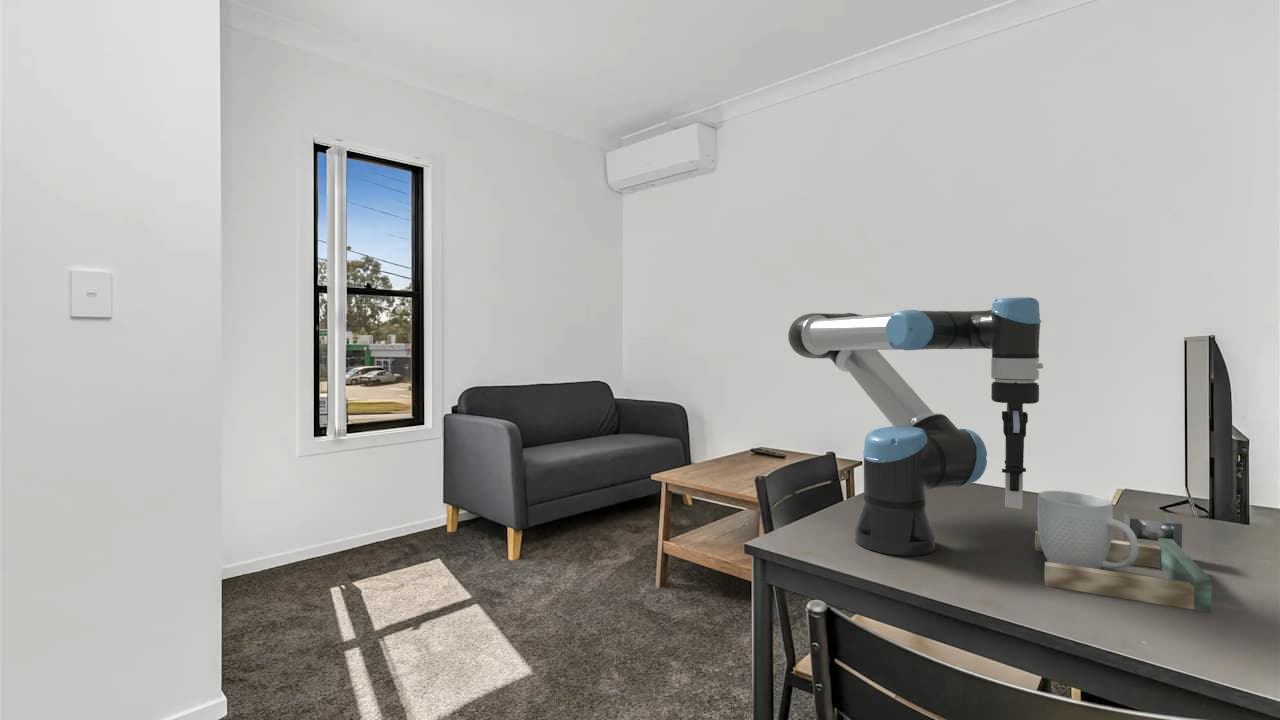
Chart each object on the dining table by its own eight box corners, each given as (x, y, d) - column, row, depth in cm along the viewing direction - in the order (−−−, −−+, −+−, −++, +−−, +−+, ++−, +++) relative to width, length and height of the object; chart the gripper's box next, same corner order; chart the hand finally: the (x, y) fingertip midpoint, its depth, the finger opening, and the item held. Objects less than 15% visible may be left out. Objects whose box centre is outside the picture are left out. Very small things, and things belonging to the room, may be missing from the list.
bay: (1045, 585, 102) (1046, 556, 102) (1034, 547, 121) (1035, 522, 120) (1210, 612, 92) (1211, 580, 92) (1171, 566, 111) (1172, 539, 110)
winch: (1128, 558, 115) (1129, 519, 114) (1121, 548, 120) (1122, 510, 120) (1183, 565, 111) (1184, 525, 111) (1174, 555, 116) (1175, 516, 116)
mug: (1148, 579, 105) (1151, 504, 104) (1123, 594, 99) (1126, 515, 98) (1052, 554, 117) (1053, 487, 117) (1025, 566, 111) (1026, 495, 111)
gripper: (1042, 383, 105) (1040, 518, 105) (1035, 379, 116) (1034, 501, 117) (992, 382, 108) (991, 513, 109) (990, 378, 120) (989, 496, 121)
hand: (1013, 507), depth 113 cm, fingers closed
